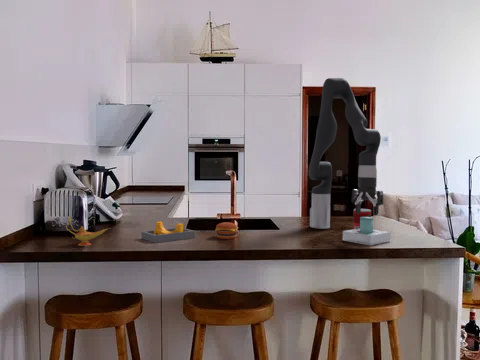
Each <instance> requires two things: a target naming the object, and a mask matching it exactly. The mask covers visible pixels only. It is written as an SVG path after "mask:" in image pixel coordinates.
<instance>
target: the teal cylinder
mask: <svg viewBox="0 0 480 360" xmlns="http://www.w3.org/2000/svg"><path fill="white" fill-rule="evenodd" d="M373 230H374V217H372V216H371V217H360V232H362V233H373Z"/></svg>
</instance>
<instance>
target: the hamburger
mask: <svg viewBox="0 0 480 360" xmlns="http://www.w3.org/2000/svg"><path fill="white" fill-rule="evenodd" d="M237 229H239V227H238V226H237V225H236V224H235V223H233V222H229V221H225V222H220V223H218V224H216V227H215V230H214V231H216V238H217V239H220V240H221V239H222V240H233V239H237V238H238V234H237V233H238V230H237Z"/></svg>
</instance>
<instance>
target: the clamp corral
mask: <svg viewBox="0 0 480 360" xmlns="http://www.w3.org/2000/svg"><path fill="white" fill-rule="evenodd" d="M175 228H176V227H172V228H171V227H170V228H165V229H166V230H167V231H169V232H173V231H174V230H175ZM154 230H155V229H153V230H144V231H143V230H142V231H141V239H142V240H145V241H147V242H151V243H154V244H157V243H165V242H172V241H174V242H175V241H180V240H189V239H195V236H196V232H195V230H194V229H193V230H192V229H189V228H185V227H183V232H177V233H169V234H160V235H155V234H154Z"/></svg>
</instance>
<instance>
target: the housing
mask: <svg viewBox="0 0 480 360" xmlns="http://www.w3.org/2000/svg"><path fill="white" fill-rule="evenodd" d="M342 241H344V242H349V243H355V244H361V245H365V246H366V245H367V246H375V245H381V244H384V243H389V242H391V232H390V231H384V230H378V229H373V233H362V232H360V228H359V229H353V228H352V229H346V230H342Z"/></svg>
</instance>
